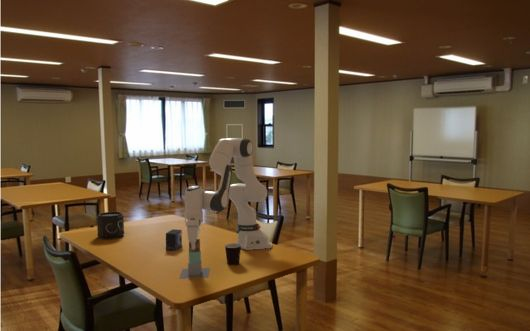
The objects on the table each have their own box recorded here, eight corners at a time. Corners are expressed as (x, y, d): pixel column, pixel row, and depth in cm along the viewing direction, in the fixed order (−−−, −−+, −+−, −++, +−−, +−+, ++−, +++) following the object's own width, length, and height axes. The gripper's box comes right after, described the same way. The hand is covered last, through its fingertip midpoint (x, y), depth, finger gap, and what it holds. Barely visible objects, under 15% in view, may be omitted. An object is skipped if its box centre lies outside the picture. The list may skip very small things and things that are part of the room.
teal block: (199, 259, 203) (199, 248, 203) (200, 262, 198) (200, 251, 197) (188, 260, 202) (188, 249, 201) (189, 263, 196) (189, 252, 196)
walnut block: (200, 248, 202) (199, 239, 202) (199, 251, 197) (199, 241, 197) (190, 249, 202) (189, 239, 201) (189, 252, 197) (188, 242, 196)
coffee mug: (234, 267, 210) (234, 248, 209) (222, 264, 214) (221, 246, 213) (247, 261, 219) (247, 243, 219) (234, 258, 224) (234, 241, 223)
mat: (209, 268, 208) (209, 267, 208) (208, 278, 194) (208, 277, 194) (182, 269, 207) (182, 268, 207) (179, 279, 193) (179, 278, 193)
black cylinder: (131, 235, 277) (130, 212, 276) (108, 241, 262) (107, 217, 261) (114, 231, 287) (113, 210, 286) (91, 237, 272) (90, 214, 271)
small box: (175, 250, 240) (175, 233, 239) (165, 250, 241) (165, 233, 240) (182, 246, 250) (182, 229, 249) (172, 245, 251) (172, 229, 251)
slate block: (201, 270, 204) (201, 259, 203) (200, 274, 198) (200, 263, 197) (189, 271, 203) (189, 259, 203) (188, 275, 197) (188, 263, 197)
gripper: (189, 214, 208) (190, 240, 209) (185, 223, 188) (185, 252, 189) (202, 214, 209) (202, 240, 210) (198, 223, 188) (199, 252, 189)
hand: (194, 246), depth 199 cm, fingers open, 8 cm apart
